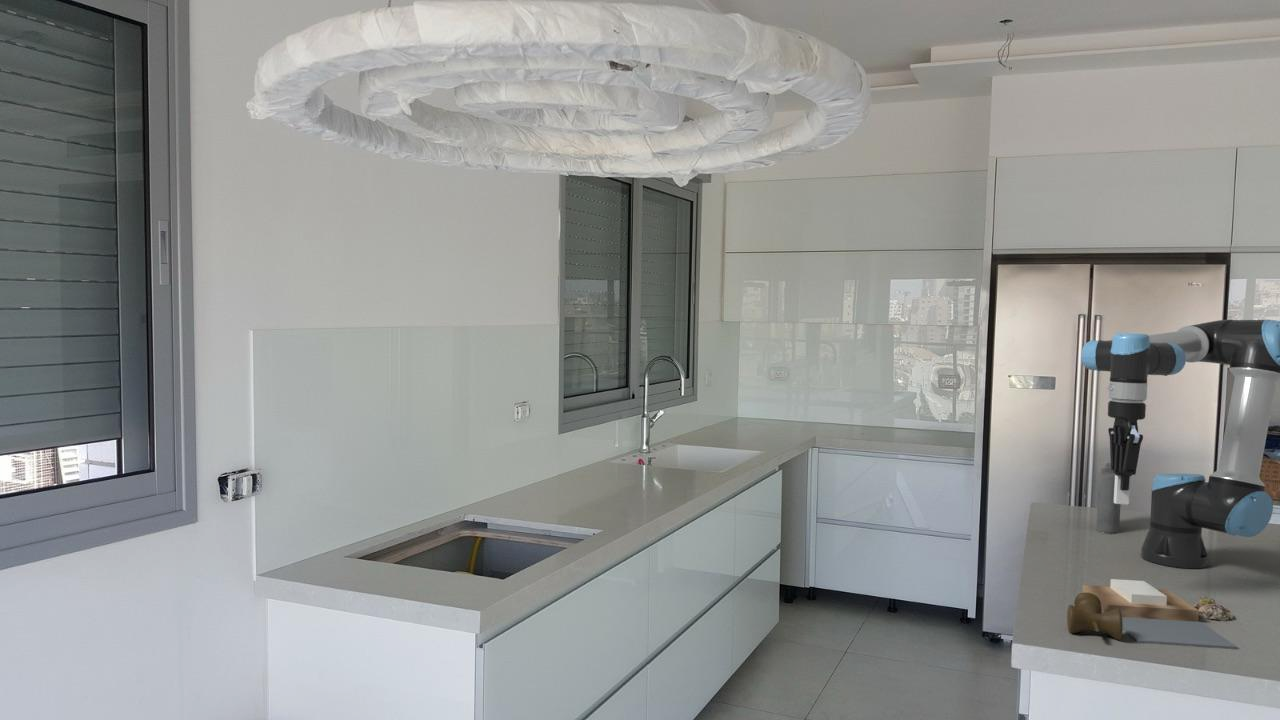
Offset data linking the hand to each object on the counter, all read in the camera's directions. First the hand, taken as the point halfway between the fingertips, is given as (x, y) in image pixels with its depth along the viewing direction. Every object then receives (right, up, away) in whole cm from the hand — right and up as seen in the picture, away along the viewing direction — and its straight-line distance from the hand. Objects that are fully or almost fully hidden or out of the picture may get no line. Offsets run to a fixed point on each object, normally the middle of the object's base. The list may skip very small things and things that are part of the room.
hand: (1121, 503), depth 201 cm
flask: (+32, -19, +66) cm, 75 cm away
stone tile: (-2, -19, -9) cm, 21 cm away
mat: (-4, -22, -25) cm, 33 cm away
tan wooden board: (-2, -21, -10) cm, 24 cm away
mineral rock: (+13, -22, -12) cm, 28 cm away
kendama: (-19, -22, -23) cm, 37 cm away
